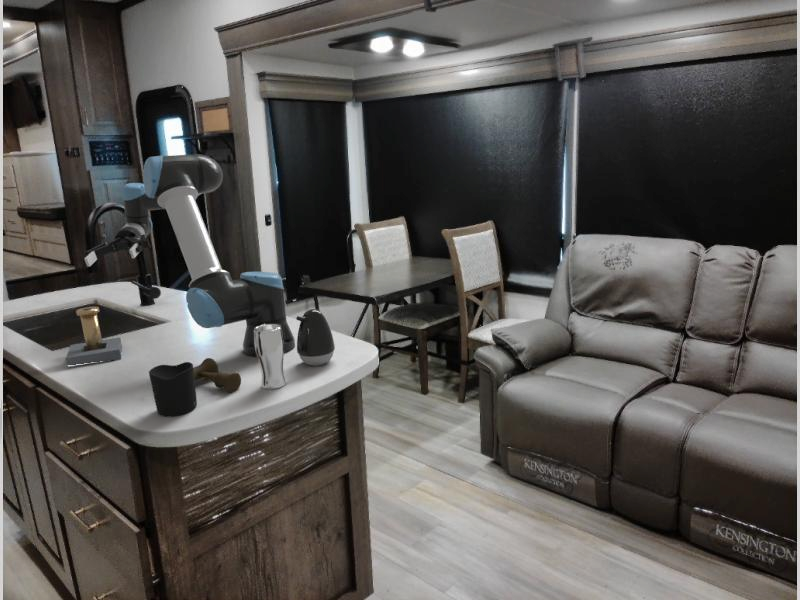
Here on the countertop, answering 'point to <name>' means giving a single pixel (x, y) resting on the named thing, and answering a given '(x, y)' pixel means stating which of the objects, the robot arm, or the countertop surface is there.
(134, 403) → the countertop surface
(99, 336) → the bushing
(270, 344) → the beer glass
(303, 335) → the pump dispenser
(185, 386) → the pen holder
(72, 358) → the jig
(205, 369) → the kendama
